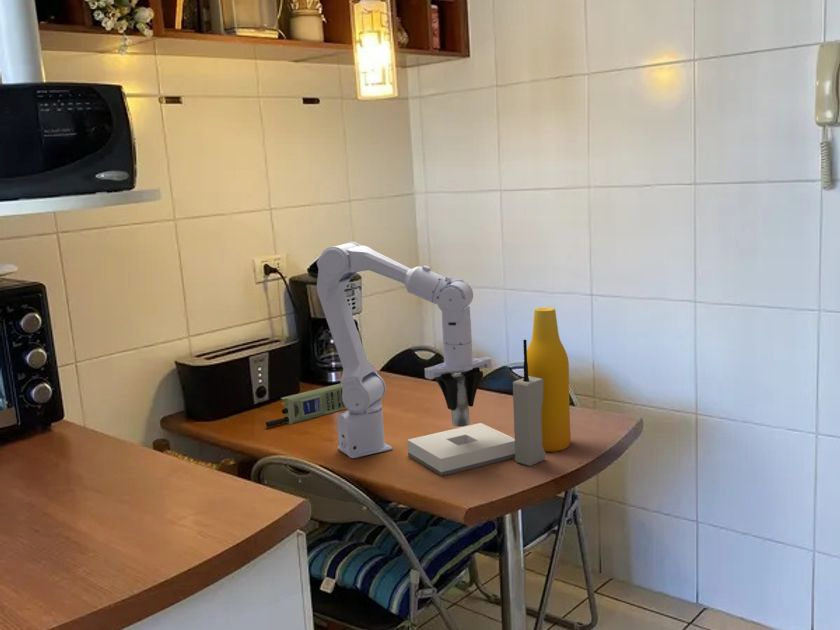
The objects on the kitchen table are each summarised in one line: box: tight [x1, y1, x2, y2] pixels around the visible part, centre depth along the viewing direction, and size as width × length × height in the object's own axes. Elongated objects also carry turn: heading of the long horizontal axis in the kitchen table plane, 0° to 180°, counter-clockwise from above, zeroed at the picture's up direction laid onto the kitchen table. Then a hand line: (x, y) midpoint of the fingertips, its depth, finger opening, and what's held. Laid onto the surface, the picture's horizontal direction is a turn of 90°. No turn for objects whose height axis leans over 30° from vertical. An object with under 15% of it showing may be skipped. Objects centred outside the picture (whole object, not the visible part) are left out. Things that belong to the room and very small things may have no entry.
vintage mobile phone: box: [512, 339, 546, 467], centre depth 165 cm, size 4×5×25 cm
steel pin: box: [450, 373, 471, 428], centre depth 170 cm, size 4×4×10 cm
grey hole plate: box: [406, 422, 515, 477], centre depth 172 cm, size 18×14×4 cm
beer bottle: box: [527, 306, 571, 453], centre depth 174 cm, size 9×9×29 cm
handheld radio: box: [265, 382, 348, 428], centre depth 204 cm, size 7×3×25 cm
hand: (460, 407), depth 170 cm, fingers closed on steel pin, 4 cm apart
